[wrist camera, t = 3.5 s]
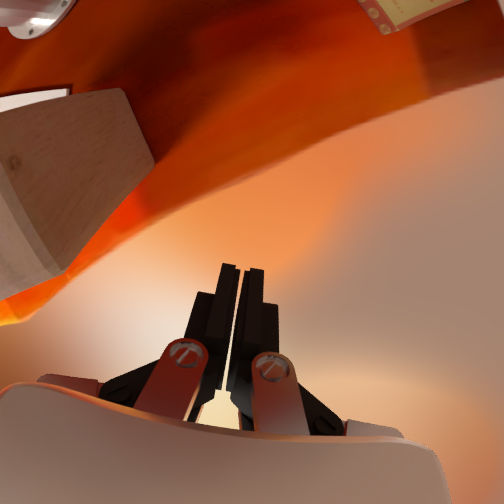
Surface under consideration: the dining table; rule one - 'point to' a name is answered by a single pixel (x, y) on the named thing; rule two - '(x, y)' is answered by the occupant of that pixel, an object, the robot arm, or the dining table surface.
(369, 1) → the carton
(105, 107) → the wooden block
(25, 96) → the white mat
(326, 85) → the dining table surface
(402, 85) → the dining table surface
